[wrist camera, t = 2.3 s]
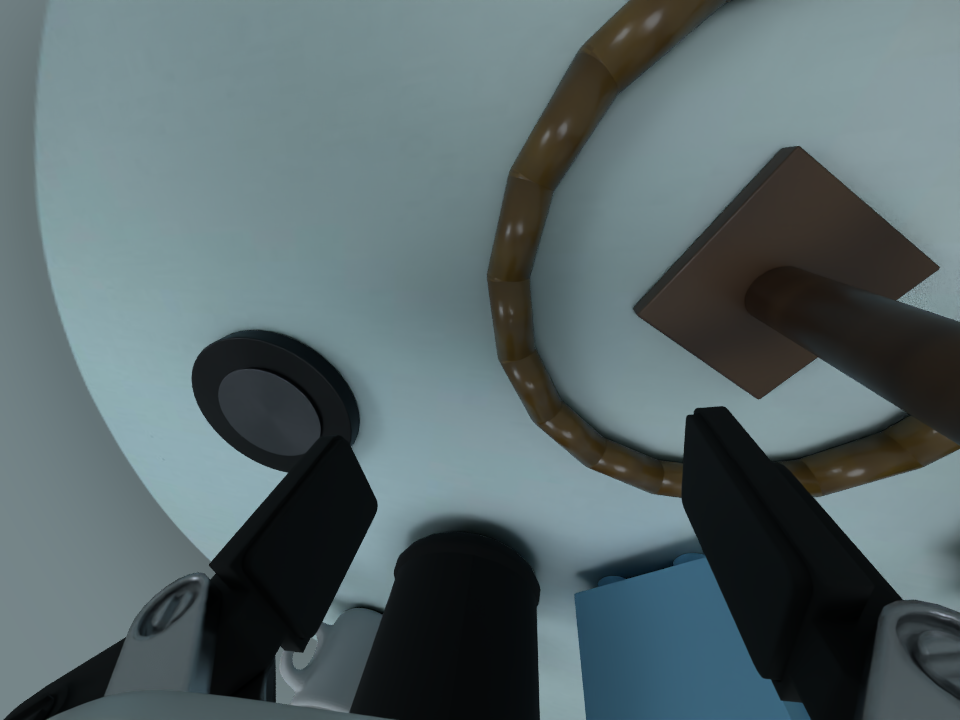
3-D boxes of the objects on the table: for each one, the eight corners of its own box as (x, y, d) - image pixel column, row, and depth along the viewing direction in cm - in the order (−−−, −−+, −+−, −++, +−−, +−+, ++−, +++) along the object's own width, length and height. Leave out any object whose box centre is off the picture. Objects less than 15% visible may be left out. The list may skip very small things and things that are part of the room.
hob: (197, 414, 25) (179, 426, 24) (220, 295, 20) (200, 303, 19) (330, 483, 27) (320, 498, 25) (384, 390, 21) (375, 402, 20)
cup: (301, 601, 37) (246, 700, 30) (333, 576, 33) (279, 681, 26) (381, 645, 39) (348, 747, 32) (420, 626, 35) (391, 735, 28)
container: (525, 613, 31) (516, 1048, 16) (400, 582, 32) (271, 971, 16) (560, 534, 25) (601, 1104, 10) (406, 498, 26) (212, 980, 10)
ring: (409, 346, 20) (397, 362, 18) (872, -454, 8) (969, -638, 6) (725, 537, 23) (741, 566, 21) (1374, 185, 11) (1527, 186, 10)
